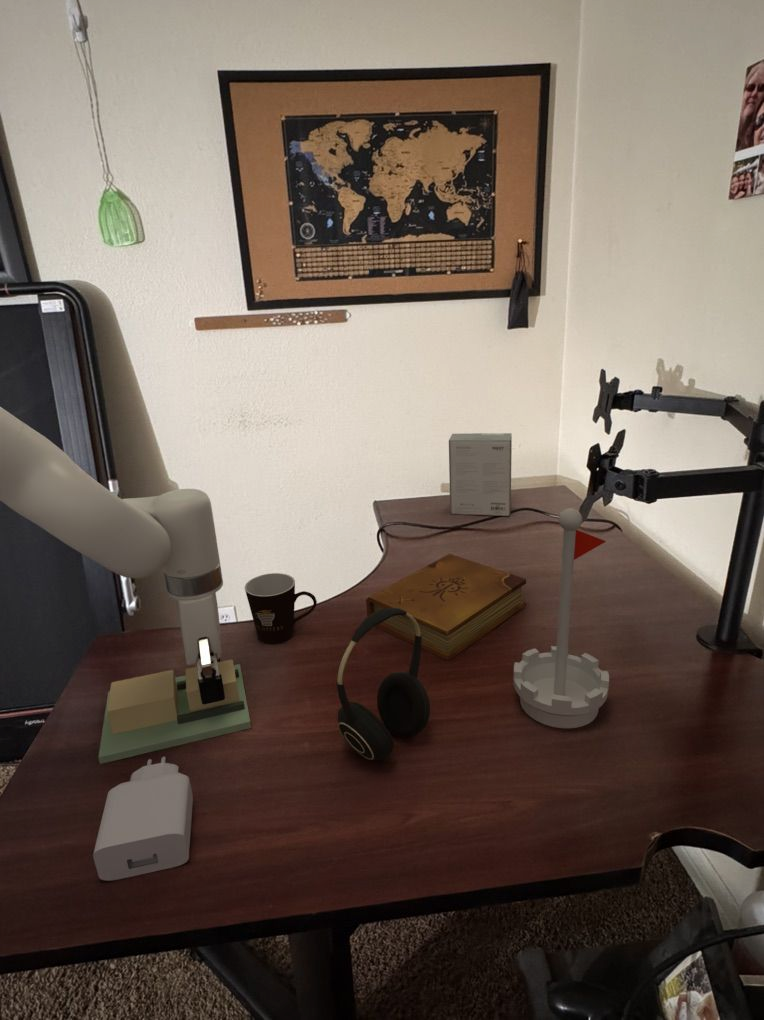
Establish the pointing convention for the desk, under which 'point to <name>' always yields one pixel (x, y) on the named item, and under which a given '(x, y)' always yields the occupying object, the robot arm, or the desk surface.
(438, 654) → the diary
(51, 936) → the desk surface
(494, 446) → the hard drive box
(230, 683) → the yellow block
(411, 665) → the headphones
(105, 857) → the charger
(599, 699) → the flag stand
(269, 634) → the coffee mug
